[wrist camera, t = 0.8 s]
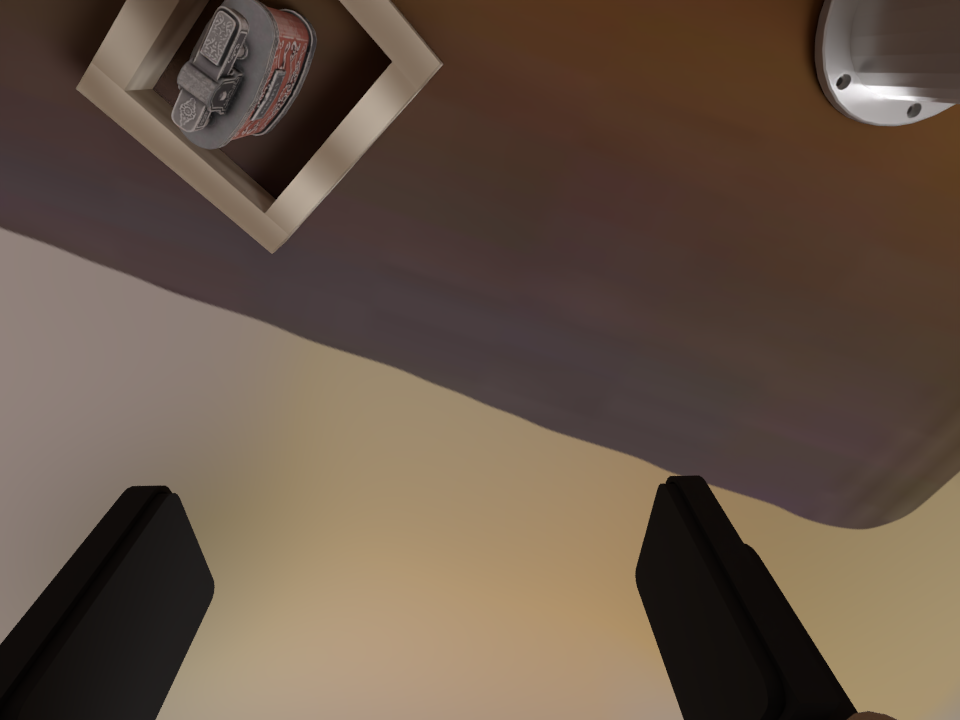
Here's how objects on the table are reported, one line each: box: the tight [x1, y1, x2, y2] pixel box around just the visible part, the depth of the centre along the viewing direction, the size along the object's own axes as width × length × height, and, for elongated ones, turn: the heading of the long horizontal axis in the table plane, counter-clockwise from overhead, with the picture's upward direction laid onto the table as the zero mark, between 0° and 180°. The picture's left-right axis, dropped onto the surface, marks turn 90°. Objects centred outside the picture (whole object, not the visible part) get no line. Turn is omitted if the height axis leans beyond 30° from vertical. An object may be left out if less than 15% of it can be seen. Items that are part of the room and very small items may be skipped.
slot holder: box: [76, 0, 443, 254], centre depth 30 cm, size 17×14×3 cm
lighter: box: [171, 0, 317, 150], centre depth 27 cm, size 8×3×10 cm, turn 141°
